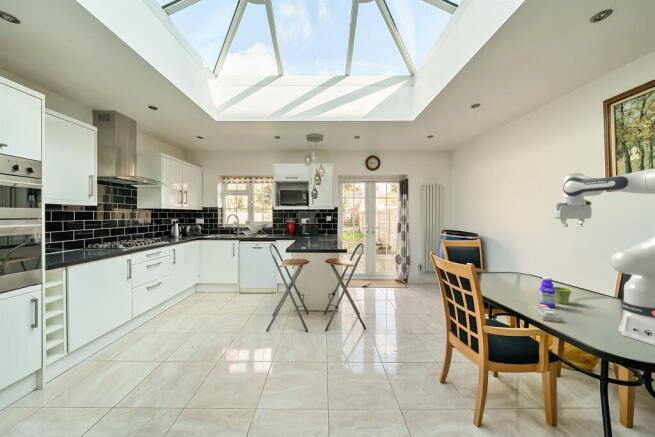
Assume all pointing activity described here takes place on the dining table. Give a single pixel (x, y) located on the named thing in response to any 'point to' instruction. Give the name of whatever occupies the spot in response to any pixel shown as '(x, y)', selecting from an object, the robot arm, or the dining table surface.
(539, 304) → the key rust
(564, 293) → the plant pot
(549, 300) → the bottle
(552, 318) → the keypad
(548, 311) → the key sage
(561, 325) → the dining table surface
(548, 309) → the key slate
